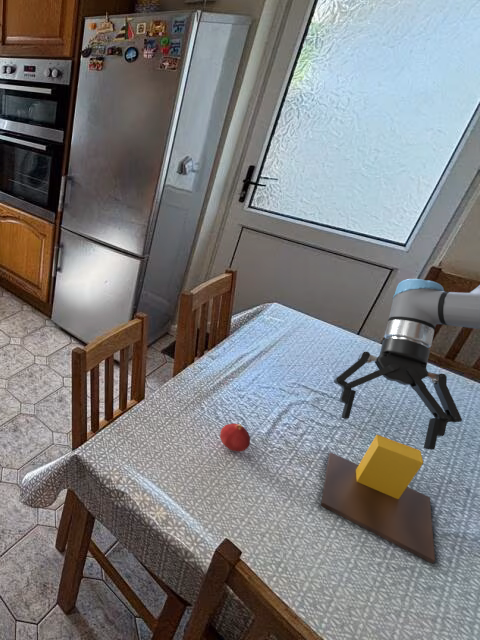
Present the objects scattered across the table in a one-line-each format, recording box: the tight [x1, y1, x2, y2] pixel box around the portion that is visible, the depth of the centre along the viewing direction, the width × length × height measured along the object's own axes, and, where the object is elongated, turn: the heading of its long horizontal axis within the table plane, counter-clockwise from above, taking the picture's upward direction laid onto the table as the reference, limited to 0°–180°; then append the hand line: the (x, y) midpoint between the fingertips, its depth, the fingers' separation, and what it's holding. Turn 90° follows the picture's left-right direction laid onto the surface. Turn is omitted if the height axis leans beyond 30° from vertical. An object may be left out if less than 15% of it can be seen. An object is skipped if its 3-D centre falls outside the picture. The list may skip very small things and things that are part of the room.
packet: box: [356, 434, 424, 499], centre depth 84 cm, size 6×4×11 cm, turn 52°
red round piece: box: [219, 423, 251, 452], centre depth 95 cm, size 6×6×8 cm
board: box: [320, 452, 436, 564], centre depth 84 cm, size 16×16×1 cm
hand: (385, 432), depth 90 cm, fingers open, 13 cm apart
